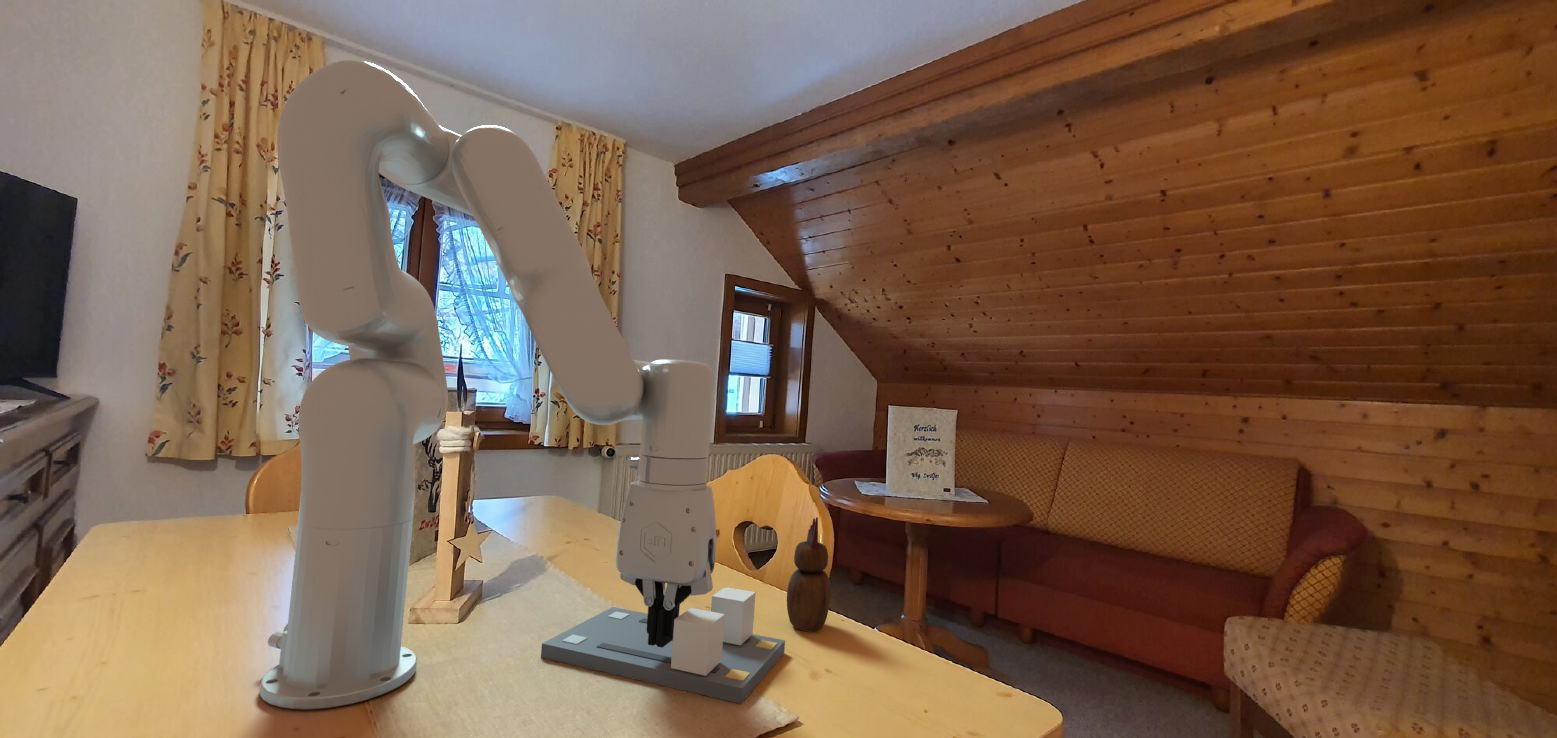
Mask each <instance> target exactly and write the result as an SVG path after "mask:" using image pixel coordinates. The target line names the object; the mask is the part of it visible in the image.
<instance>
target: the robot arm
mask: <svg viewBox="0 0 1557 738" xmlns="http://www.w3.org/2000/svg"><path fill="white" fill-rule="evenodd" d="M276 136H277V137H276V143H277V144H276V146H277V156H278V157H277V159H278V160H277V161H278V166H279V167H278V168H279V172H280V177H281V185H282V189H283V194H284V195H283V196H284V200H285V205H286V211H287V220H288V228H289V229H288V230H289V239H290V247H291V251H292V253H291V254H292V259H293V267H294V272H295V273H294V274H295V281H296V288H297V289H296V290H297V295H298V301H299V309H300V312H301V315H302V318H303V320H304V322H305V324H306V325H307V327H309V329H310V330H311V331H312V332H313V333H314V334H316V335H317V336H318V337H321V339H323V340H325V341H329V342H331V343H334V344H338V345H341V346H346V347H347V349H348V354H349V359H348V360H343V361H340V362H337V363H335V364H333V365H330V366H329V367H327V368H325V369H324V370H322V371H321V372H320V373H319V374H318V375H316V377H314V378H313V379H312V380H311V382H310V383H309V384H308V386H307V388H306V389H305V392H304V393H303V395H302V398H301V401H300V405H299V409H298V410H299V411H298V434H299V446H300V459H301V477H300V478H301V481H300V495H299V497H300V498H299V508H298V509H299V510H298V518H297V532H296V541H295V543H296V544H295V552H294V560H293V570H292V571H293V572H292V581H291V590H290V598H289V599H290V600H289V608H288V617H287V618H288V619H287V623H286V625H285V627H284V628H283V631H282V632H280V631H279V632H278V631H276V632H274V633H272V634H271V635H270V636H269V637H268V639H267V645H268V646H269V647H271V648H275V649H279V650H280V652H279V654H280V655H279V663H278V664H277V665H276V666H275V665H274V667H272V669H270V670H268V671H267V672H266V673H265V674H264V675H263V677H262V678H261V682H260V686H259V687H260V689H259V690H260V691H259V695H260V698H261V699H262V700H263V701H264V702H266V703H268V704H269V705H272V706H275V707H278V708H284V709H290V710H319V709H320V710H321V709H329V708H334V707H335V708H336V707H342V706H347V705H351V704H352V705H353V704H356V703H360V702H363V701H367V700H371V699H373V698H377V697H379V696H382V695H384V694H386V693H388V692H391V691H393V690H395V689H397V688H399V687H401V686H402V685H404V684H405V683H406V682H408V681H409V680H410V679H411V678H412V677H413V676H414V674H415V672H416V670H417V665H418V664H417V662H418V657H417V655H416V653H415V652H413V651H412V650H411V649H410V648H407V647H405V646H402V640H403V638H402V637H403V630H404V628H403V626H404V618H405V607H406V596H407V586H408V575H409V564H410V555H411V553H410V552H411V543H412V542H411V541H412V533H413V521H414V510H415V509H414V508H415V497H416V469H415V468H416V467H415V455H414V445H416V444H418V443H420V442H423V441H424V440H427V439H428V438H429V437H431V436H432V435H433V434H435V433H436V432H437V430H439V429H440V427H441V425H442V424H443V422H444V421H445V418H446V415H447V414H448V408H449V391H448V383H447V381H448V380H447V375H446V368H445V364H444V363H445V361H444V356H443V349H442V343H441V342H442V341H441V337H440V330H439V325H438V319H437V317H438V316H437V313H436V310H435V306H434V303H433V301H432V298H431V296H430V294H429V292H428V291H427V289H426V288H425V287H424V286H423V284H421V283H420V281H419V280H417V278H415V277H414V276H412V275H411V274H409V273H408V272H406V271H404V270H402V269H401V268H400V266H399V262H398V260H397V254H396V251H395V246H394V241H393V240H394V239H393V234H392V224H391V216H390V211H389V207H388V203H387V200H386V197H385V194H384V191H383V187H382V183H381V180H380V175H381V176H382V177H384V178H385V179H387V180H388V181H390V182H391V183H393V184H395V185H397V186H399V187H400V188H403V189H405V190H407V191H410V192H411V193H414V194H416V195H419V196H421V197H424V198H426V199H429V200H432V201H433V202H436V203H438V204H441V205H444V206H446V207H448V208H452V209H453V210H456V211H459V212H461V213H463V214H465V215H468V216H472V217H473V219H474V220H475V222H476V224H477V226H478V227H479V229H480V231H481V234H482V235H483V237H484V239H485V241H486V243H487V244H488V247H489V248H490V251H491V253H492V254H493V256H494V259H495V261H496V263H497V266H498V267H499V269H500V272H501V273H502V274H503V276H504V279H505V281H506V283H507V286H508V287H509V289H510V292H511V295H512V297H513V299H514V301H515V303H516V305H517V306H518V308H519V310H520V311H521V313H522V316H523V317H524V320H525V323H526V324H527V326H528V329H529V331H530V333H531V335H532V337H533V339H534V341H535V343H536V346H537V348H538V349H539V351H540V354H541V355H542V357H543V360H544V362H545V363H546V365H547V368H548V369H549V371H550V373H551V374H552V377H553V379H554V380H555V383H556V385H557V386H558V388H559V390H560V392H561V394H562V397H563V398H564V400H565V401H566V403H567V405H568V406H569V408H570V409H571V410H572V412H574V413H575V414H576V415H577V416H578V417H579V418H581V419H582V420H584V421H585V422H587V423H591V424H593V425H599V426H608V425H614V424H617V423H620V422H622V421H629V420H630V421H631V420H641V430H640V432H641V433H640V442H639V443H640V444H639V453H638V457H631V458H630V460H629V465H628V466H629V468H630V469H631V470H634V471H636V478H637V481H632V482H630V484H629V487H628V491H627V493H626V497H625V500H624V505H623V509H622V513H621V519H620V526H619V530H618V538H617V544H616V554H615V555H616V556H615V566H616V570H617V571H618V572H619V573H620V575H619V578H620V579H621V580H622V581H623V582H625V583H628V584H630V585H632V586H635V587H636V588H637V590H638V592H639V593H640V594H641V596H642V598H643V603H644V605H645V606H646V607H647V614H648V617H647V633H649V634H648V645H652V646H654V645H657V647H661V648H662V647H664V646H665V645H667V644H668V643H669V642H671V641H672V640H673V632H674V619H675V618H677V617H679V616H680V609H681V608H680V607H681V606H680V605H681V604H682V603H684V602H685V600H687V599H688V598H689V597H690V596H701V595H706V594H708V593H710V592H711V591H713V588H714V585H713V579H712V574H713V572H714V570H715V565H716V564H715V563H716V551H717V546H716V545H717V543H716V542H717V531H716V512H715V510H716V509H715V502H714V501H715V500H714V494H713V489H712V486H709V485H708V471H709V469H708V468H709V456H710V441H711V439H710V438H711V426H712V424H711V423H712V414H713V413H712V411H713V409H712V408H713V399H714V398H713V395H714V385H715V384H714V378H715V377H714V372H713V369H712V368H711V366H710V365H708V364H707V363H705V362H701V361H695V360H693V361H692V360H684V359H666V358H664V359H656V360H653V361H645V360H638V359H634V357H633V356H632V355H631V353H630V350H629V349H628V347H627V344H626V342H625V340H624V339H623V336H622V335H621V333H620V331H619V329H618V326H617V324H616V323H615V321H614V319H613V316H612V315H611V313H610V311H609V308H608V307H607V305H606V303H605V301H604V299H603V297H602V295H601V293H600V290H599V289H598V286H597V284H596V281H595V279H594V277H593V273H592V269H591V264H590V262H589V260H588V257H587V255H586V253H585V251H584V249H583V247H582V245H581V243H580V241H579V239H578V238H577V236H576V233H575V232H574V230H573V227H572V226H571V224H570V222H569V220H568V218H567V216H566V214H565V212H564V210H563V208H562V206H561V204H560V202H559V200H558V198H557V196H556V195H555V192H554V190H553V188H552V186H551V184H550V183H549V181H548V179H547V176H546V174H545V172H544V170H543V167H541V165H540V163H539V161H538V159H537V157H536V154H535V153H534V152H533V150H532V149H531V147H530V146H529V144H528V143H527V142H526V141H525V140H524V139H523V138H522V137H521V136H519V134H518V133H516V132H514V131H512V130H510V129H509V128H505V127H502V126H498V125H489V124H488V125H487V124H486V125H480V126H476V127H473V128H471V129H469V130H467V131H465V132H464V133H463V134H458V133H456V132H454V131H452V130H449V129H447V128H445V127H442V126H441V125H440V124H439V123H438V122H437V120H436V119H435V117H434V116H433V115H432V114H431V113H430V111H429V110H428V109H427V107H426V106H425V105H424V104H423V102H422V101H421V99H420V98H419V97H418V96H417V95H416V94H415V92H414V91H413V90H412V89H411V88H410V86H408V85H407V84H406V83H405V82H403V80H401V79H400V78H398V77H397V76H396V75H395V74H393V73H392V72H390V71H389V70H386V69H384V68H383V67H381V66H379V65H377V64H374V63H371V62H367V61H364V60H357V59H345V60H344V59H343V60H337V61H334V62H332V63H329V64H326V65H324V66H323V65H322V66H321V67H319V68H317V69H315V70H314V71H312V72H311V73H310V74H308V75H307V76H306V77H305V78H303V80H301V81H300V82H299V83H298V85H297V86H296V87H295V88H294V89H293V91H291V93H290V95H289V96H288V98H287V99H286V101H285V103H284V105H283V108H282V110H281V113H280V117H279V120H278V128H277V135H276Z"/></svg>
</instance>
